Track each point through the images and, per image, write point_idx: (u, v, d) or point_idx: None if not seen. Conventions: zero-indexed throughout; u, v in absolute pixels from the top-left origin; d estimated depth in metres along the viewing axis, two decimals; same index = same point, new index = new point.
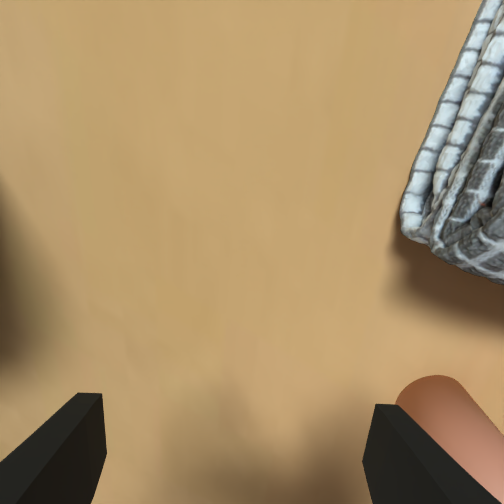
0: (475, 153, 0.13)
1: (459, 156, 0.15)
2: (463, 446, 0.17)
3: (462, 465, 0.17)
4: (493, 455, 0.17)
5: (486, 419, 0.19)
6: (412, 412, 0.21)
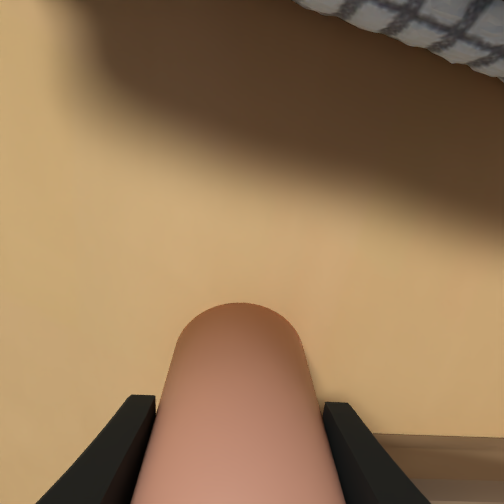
0: None
1: None
2: (183, 428, 0.07)
3: (154, 474, 0.07)
4: (223, 449, 0.06)
5: (280, 373, 0.09)
6: (170, 368, 0.11)
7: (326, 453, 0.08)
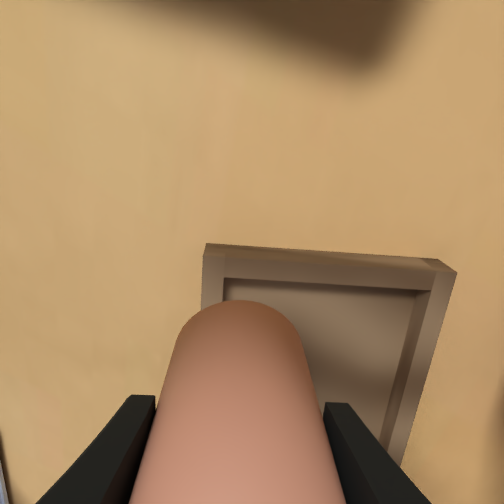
0: None
1: None
2: (181, 424, 0.07)
3: (153, 469, 0.07)
4: (221, 443, 0.07)
5: (279, 369, 0.09)
6: (169, 365, 0.11)
7: (325, 447, 0.08)
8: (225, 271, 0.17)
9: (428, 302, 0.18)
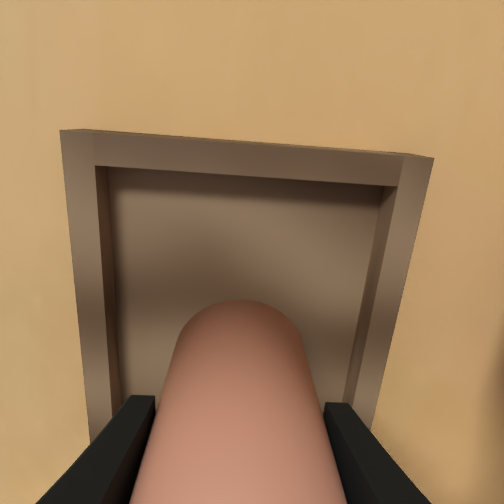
0: None
1: None
2: (181, 423, 0.07)
3: (152, 469, 0.07)
4: (221, 443, 0.06)
5: (279, 368, 0.09)
6: (170, 365, 0.11)
7: (325, 447, 0.07)
8: (96, 156, 0.12)
9: (394, 205, 0.12)
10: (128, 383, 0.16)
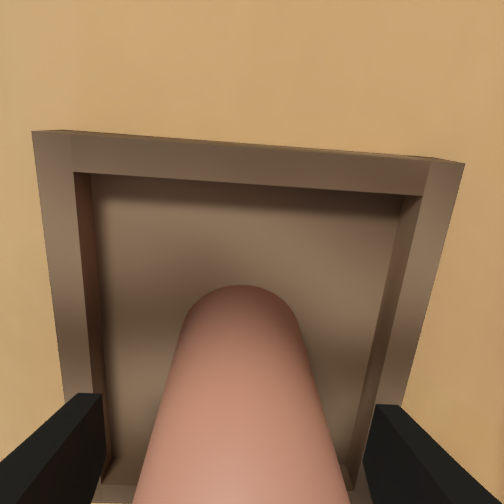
0: None
1: None
2: (191, 385, 0.08)
3: (167, 422, 0.08)
4: (226, 397, 0.08)
5: (276, 341, 0.10)
6: (177, 343, 0.12)
7: (317, 406, 0.09)
8: (74, 161, 0.10)
9: (418, 217, 0.11)
10: (117, 411, 0.14)
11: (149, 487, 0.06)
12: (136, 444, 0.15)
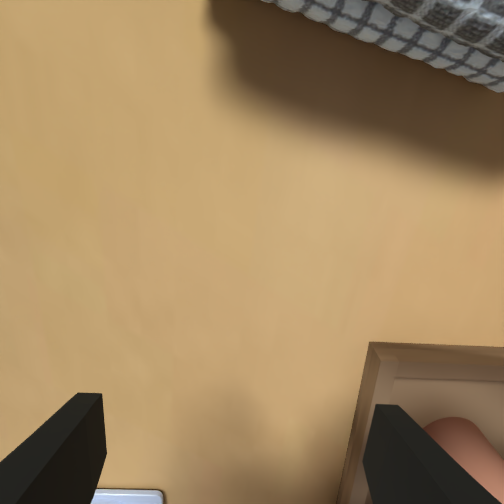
0: None
1: None
2: None
3: None
4: None
5: (501, 464, 0.20)
6: None
7: None
8: (397, 372, 0.20)
9: None
10: None
11: None
12: (370, 501, 0.25)
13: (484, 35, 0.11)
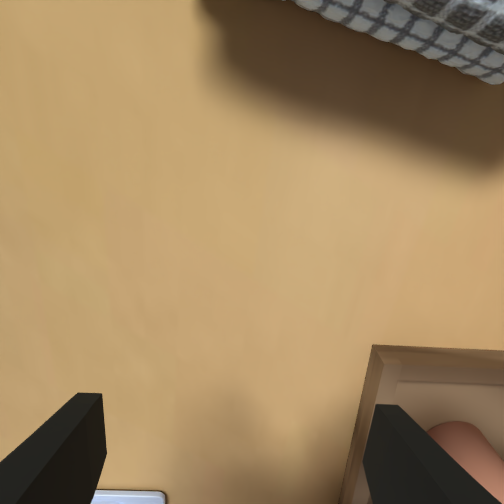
0: None
1: None
2: None
3: None
4: None
5: None
6: None
7: None
8: (400, 376, 0.20)
9: None
10: None
11: None
12: None
13: (475, 22, 0.11)
